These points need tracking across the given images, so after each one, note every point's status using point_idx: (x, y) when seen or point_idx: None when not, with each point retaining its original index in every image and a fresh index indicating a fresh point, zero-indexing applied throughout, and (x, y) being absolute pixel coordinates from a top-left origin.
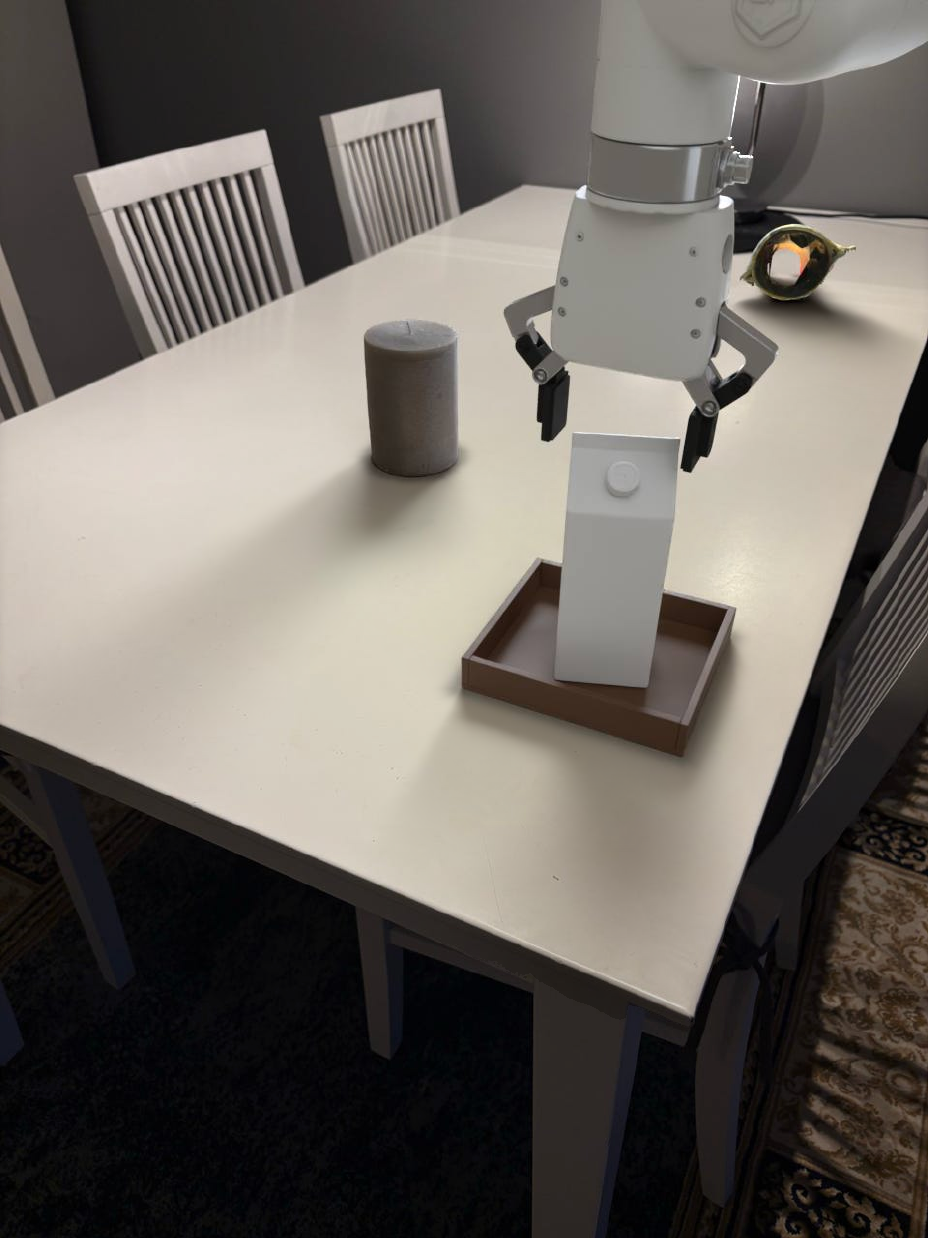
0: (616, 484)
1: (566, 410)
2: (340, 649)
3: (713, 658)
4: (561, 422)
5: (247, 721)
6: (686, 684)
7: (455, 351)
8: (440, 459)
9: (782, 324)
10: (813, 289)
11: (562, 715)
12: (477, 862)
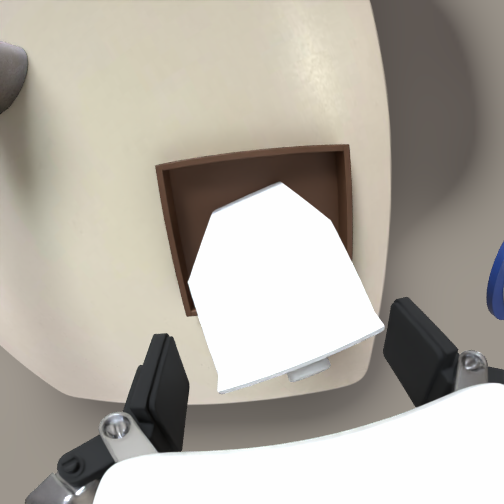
0: (304, 378)
1: (169, 358)
2: (106, 308)
3: (351, 221)
4: (177, 366)
5: (122, 369)
6: None
7: None
8: (17, 79)
9: None
10: None
11: None
12: (271, 382)
